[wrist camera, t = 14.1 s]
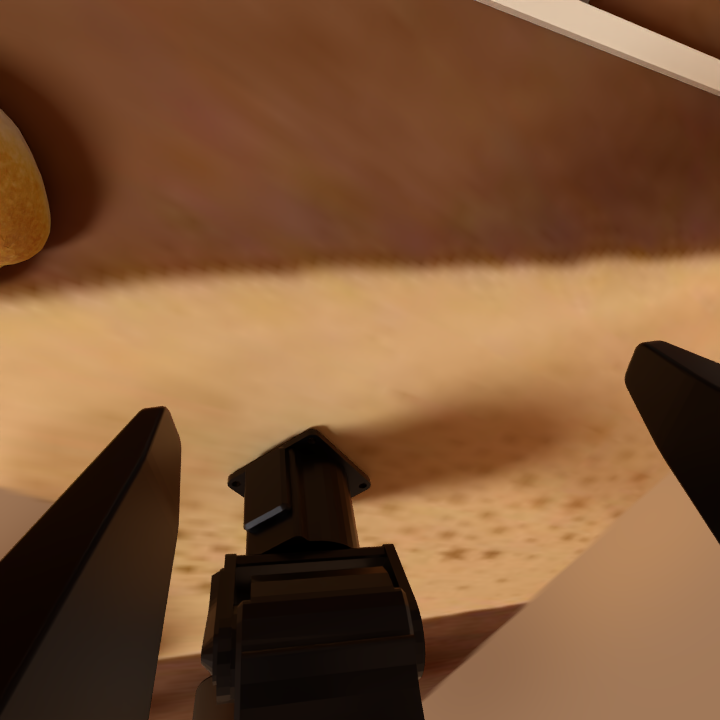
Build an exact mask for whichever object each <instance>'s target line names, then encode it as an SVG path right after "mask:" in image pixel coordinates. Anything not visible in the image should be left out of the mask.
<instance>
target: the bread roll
mask: <svg viewBox="0 0 720 720" xmlns="http://www.w3.org/2000/svg"><path fill="white" fill-rule="evenodd" d="M50 225H51V218H50V209H49V204H48V199H47V195H46V191H45V187H44V183H43V180H42V176H41V174H40V172H39V170H38V167H37V165H36V162H35V160H34V157H33V155H32V153H31V151H30V149H29V147H28V145H27V143H26V141H25V140H24V138H23V136H22V134H21V132H20V130H19V129H18V128H17V126H16V125H15V124H14V123H13V121H12V120H11V119H10V118H9V117H8V116H7V115H6V114H5V113H4V112H3V111H2V110H1V109H0V268H1V267H2V266H4V265H10V264H16V263H19V262H22V261H25V260H28V259H30V258H31V257H32V256H34V255H36V254H37V253H38V252H39V251H40V250H41V249H42V248H43V246H44V244H45V242H46V241H47V239H48V236H49V233H50Z"/></svg>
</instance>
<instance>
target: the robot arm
mask: <svg viewBox="0 0 720 720" xmlns="http://www.w3.org/2000/svg"><path fill="white" fill-rule="evenodd" d="M625 384H626V387H627V389H628V391H629V393H630V395H631V397H632V399H633V401H634V403H635V405H636V407H637V409H638V411H639V413H640V415H641V417H642V419H643V421H644V423H645V424H646V426H647V428H648V430H649V432H650V434H651V436H652V438H653V440H654V442H655V444H656V446H657V448H658V449H659V451H660V453H661V454H662V456H663V458H664V459H665V461H666V463H667V464H668V466H669V467H670V469H671V470H672V472H673V473H674V475H675V476H676V478H677V479H678V481H679V482H680V484H681V486H682V487H683V489H684V490H685V492H686V493H687V495H688V496H689V498H690V499H691V501H692V502H693V504H694V506H695V507H696V509H697V510H698V512H699V513H700V515H701V516H702V518H703V520H704V521H705V523H706V524H707V526H708V527H709V529H710V530H711V532H712V533H713V535H714V536H715V538H716V540H717V541H718V543H719V544H720V364H719V363H716V362H714V361H711V360H709V359H706V358H704V357H702V356H699V355H697V354H694V353H692V352H689V351H687V350H684V349H682V348H679V347H677V346H674V345H672V344H669V343H667V342H664V341H651V342H643V343H641V344H639V345H638V346H637V347H636V349H635V351H634V353H633V356H632V358H631V361H630V363H629V366H628V369H627V371H626V374H625ZM309 438H313V439H309ZM180 473H181V441H180V437H179V434H178V432H177V429H176V427H175V424H174V422H173V419H172V416H171V414H170V412H169V410H168V409H167V407H164V406H159V407H151V408H145V409H142V410H141V411H139V412H138V413H137V414H136V416H135V417H134V418H133V419H132V420H131V421H130V422H129V423H128V424H127V425H126V426H125V427H124V428H123V430H122V431H121V432H120V433H119V434H118V435H117V436H116V437H115V438H114V439H113V440H112V441H111V442H110V443H109V445H108V446H107V447H106V448H105V449H104V450H103V451H102V452H101V453H100V454H99V455H98V456H97V457H96V459H95V460H94V461H93V462H92V463H91V464H90V465H89V466H88V467H87V468H86V469H85V470H84V471H83V472H82V474H81V475H80V476H79V477H78V478H77V479H76V480H75V481H74V482H73V483H72V484H71V485H70V486H69V487H68V489H67V490H66V491H65V492H64V493H63V494H62V495H61V496H60V497H59V498H58V499H57V500H56V501H55V503H54V504H53V505H52V506H51V507H50V508H49V509H48V510H47V511H46V512H45V513H44V514H43V515H42V517H41V518H40V519H39V520H38V521H37V522H36V523H35V524H34V525H33V526H32V527H31V528H30V529H29V530H28V532H27V533H26V534H25V535H24V536H23V537H22V538H21V539H20V540H19V541H18V542H17V543H16V544H15V546H14V547H13V548H12V549H11V550H10V551H9V552H8V553H7V554H6V555H5V556H4V557H3V558H2V559H1V561H0V720H148V718H149V711H150V705H151V699H152V693H153V686H154V680H155V674H156V667H157V661H158V655H159V648H160V642H161V636H162V629H163V623H164V617H165V610H166V604H167V598H168V591H169V585H170V579H171V572H172V566H173V560H174V554H175V547H176V541H177V533H178V525H179V503H180ZM228 486H229V488H231V489H232V490H234V491H235V492H237V493H238V494H240V495H241V496H243V497H244V526H243V527H244V529H245V530H246V531H247V538H246V555H236V554H226V555H225V565H224V568H222V569H220V571H219V572H217V573H216V574H214V575H212V580H211V592H210V603H209V611H208V617H207V622H206V628H205V633H204V639H203V645H202V651H201V664H202V665H203V666H204V667H205V668H206V669H207V670H208V671H209V672H210V673H211V675H212V683H213V685H216V701H217V705H219V704H227V703H234V720H425V719H424V714H423V708H422V702H421V696H420V690H419V682H418V680H419V679H420V678H421V677H422V674H423V671H424V665H425V641H424V632H423V626H422V620H421V616H420V612H419V608H418V605H417V602H416V600H415V597H414V595H413V592H412V590H411V587H410V585H409V582H408V580H407V577H406V575H405V572H404V570H403V567H402V565H401V562H400V560H399V557H398V555H397V552H396V550H395V547H394V545H393V544H383V545H382V546H378V547H362V548H360V547H359V541H358V535H357V529H356V523H355V517H354V512H353V506H352V500H351V498H352V497H354V496H356V495H357V494H359V493H361V492H363V491H365V490H367V489H368V488H369V487H370V479H369V478H368V477H367V476H366V475H365V474H364V473H363V472H362V471H361V470H360V469H359V468H358V467H357V466H355V465H354V464H353V463H352V462H351V461H350V460H349V459H348V458H347V457H346V456H345V455H343V454H342V453H341V452H340V451H339V450H338V449H337V448H336V447H335V446H334V445H333V444H331V443H330V442H329V441H328V440H327V439H326V438H325V437H324V436H323V435H322V434H321V433H320V432H318V431H317V430H308V431H306V432H304V433H302V434H300V435H299V436H297V437H295V438H293V439H292V440H290V441H288V442H287V443H285V444H283V445H281V446H280V447H278V448H276V449H274V450H273V451H271V452H269V453H267V454H266V455H264V456H262V457H261V458H259V459H257V460H255V461H254V462H252V463H250V464H248V465H247V466H245V467H243V468H241V469H240V470H238V471H236V472H235V473H233V474H231V475H230V476H229V477H228Z"/></svg>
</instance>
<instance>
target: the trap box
mask: <svg viewBox="0 0 720 720" xmlns="http://www.w3.org/2000/svg"><path fill="white" fill-rule="evenodd" d="M476 1H478V2H481V3H483V4H486V5H488V6H491V7H493V8H496V9H498V10H501V11H504V12H506V13H509V14H511V15H514V16H516V17H519V18H521V19H524V20H526V21H529V22H531V23H534V24H537V25H539V26H542V27H544V28H547V29H549V30H552V31H554V32H557V33H559V34H562V35H565V36H567V37H570V38H572V39H575V40H577V41H580V42H582V43H585V44H587V45H590V46H593V47H595V48H598V49H600V50H603V51H605V52H608V53H610V54H613V55H615V56H618V57H621V58H623V59H626V60H628V61H631V62H633V63H636V64H638V65H641V66H643V67H646V68H649V69H651V70H654V71H656V72H659V73H661V74H664V75H666V76H669V77H671V78H674V79H677V80H679V81H682V82H684V83H687V84H689V85H692V86H694V87H697V88H699V89H702V90H705V91H707V92H710V93H712V94H715V95H717V96H720V60H719V59H716V58H714V57H712V56H709V55H707V54H705V53H702V52H700V51H697V50H695V49H693V48H690V47H688V46H686V45H683V44H681V43H679V42H676V41H674V40H671V39H669V38H667V37H664V36H662V35H660V34H657V33H655V32H653V31H650V30H648V29H645V28H643V27H641V26H638V25H636V24H634V23H631V22H629V21H627V20H624V19H622V18H619V17H617V16H615V15H612V14H610V13H608V12H605V11H603V10H601V9H598V8H596V7H593V6H591V5H589V4H588V2H589V0H476Z"/></svg>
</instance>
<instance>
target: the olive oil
mask: <svg viewBox="0 0 720 720" xmlns="http://www.w3.org/2000/svg"><path fill="white" fill-rule="evenodd" d="M193 720H234V703H227V704H219V705H217V701H216V685H213V683H212V676H211V677H209V678H208V679H206V680H205V681H203V682H202V683H201V684H200V685H199V687H198V688H197V690H196V695H195V703H194V711H193Z"/></svg>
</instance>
